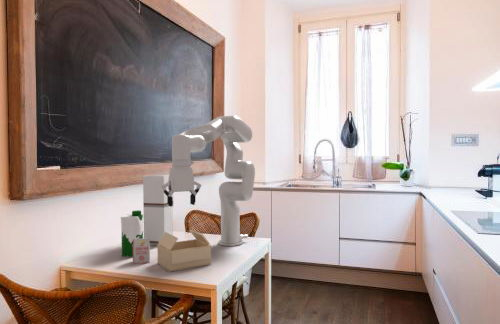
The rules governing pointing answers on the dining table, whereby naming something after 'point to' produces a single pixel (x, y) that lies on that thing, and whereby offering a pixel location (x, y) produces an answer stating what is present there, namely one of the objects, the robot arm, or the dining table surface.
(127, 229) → the milk carton
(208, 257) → the carton
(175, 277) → the dining table surface
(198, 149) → the robot arm
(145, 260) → the white red printed box
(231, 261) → the dining table surface
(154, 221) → the white banded tower
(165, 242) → the flap
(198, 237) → the flap
